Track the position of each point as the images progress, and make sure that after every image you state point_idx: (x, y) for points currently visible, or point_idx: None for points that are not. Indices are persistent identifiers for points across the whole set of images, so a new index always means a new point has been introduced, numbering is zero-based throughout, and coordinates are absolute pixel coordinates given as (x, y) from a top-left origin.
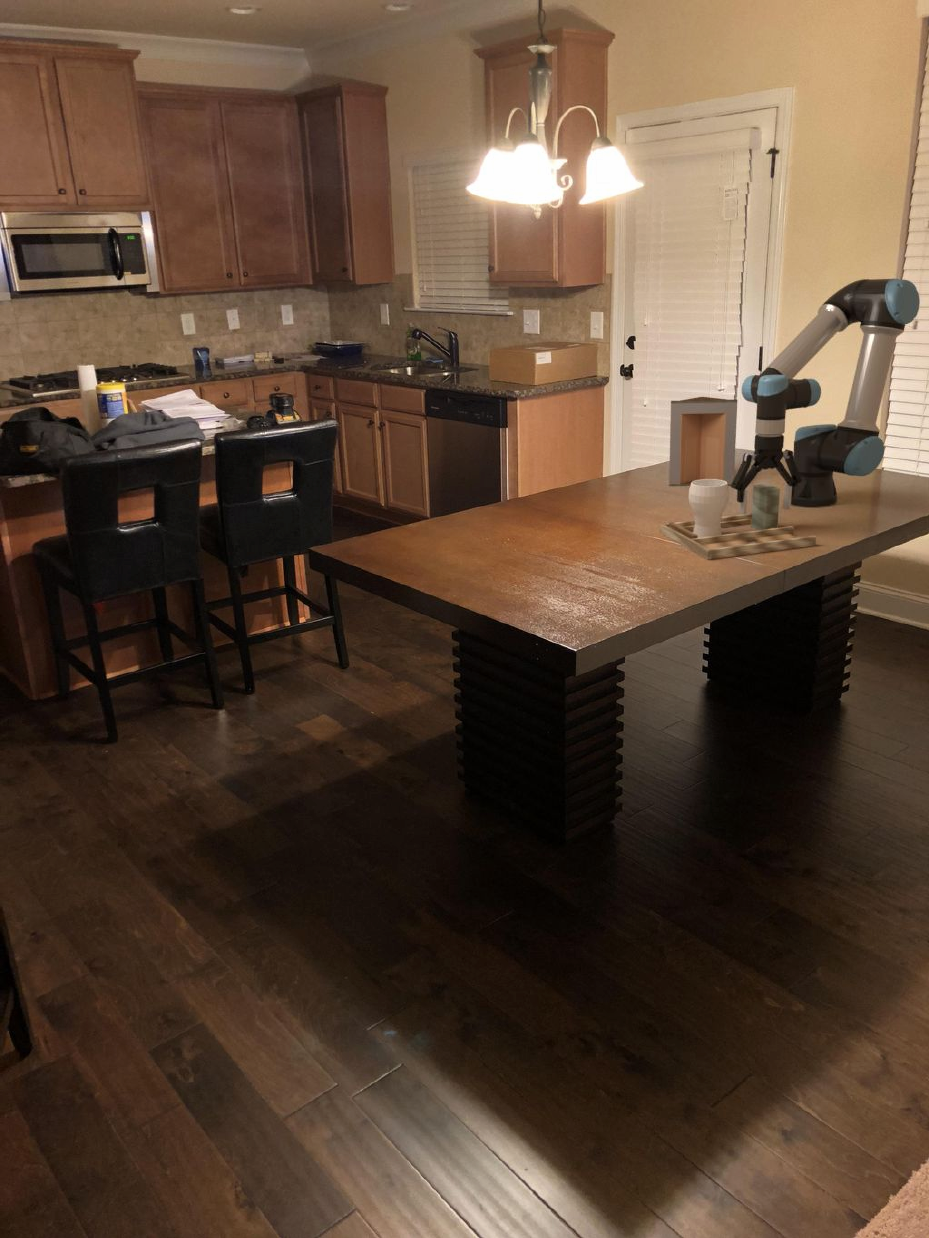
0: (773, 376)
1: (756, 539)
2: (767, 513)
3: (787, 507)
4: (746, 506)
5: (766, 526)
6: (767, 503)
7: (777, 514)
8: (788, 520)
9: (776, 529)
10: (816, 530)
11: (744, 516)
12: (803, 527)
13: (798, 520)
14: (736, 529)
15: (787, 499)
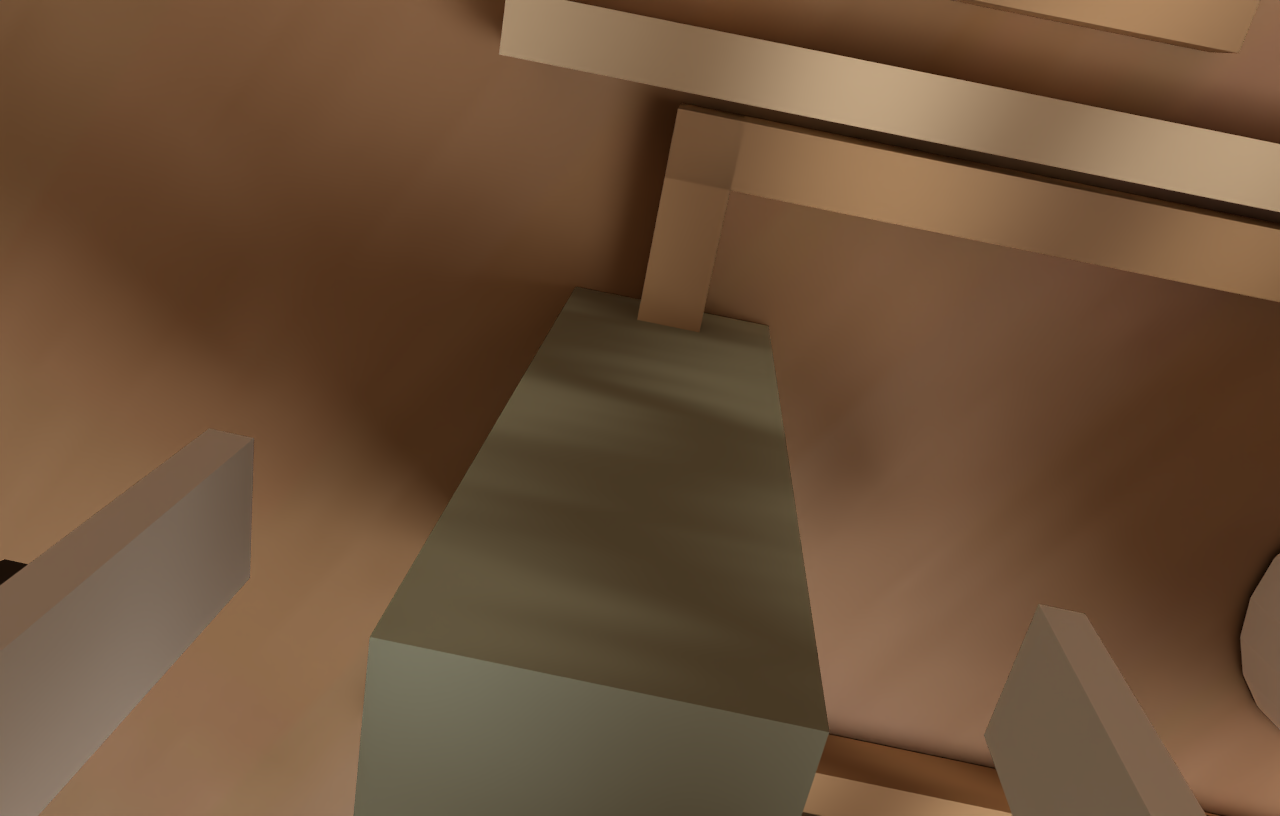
0: None
1: (1240, 32)
2: (744, 423)
3: (233, 473)
4: (1087, 699)
5: (742, 349)
6: (762, 516)
7: (548, 367)
8: None
9: (826, 53)
10: (92, 13)
11: None
12: (165, 238)
13: (49, 503)
14: (904, 637)
15: (153, 561)
